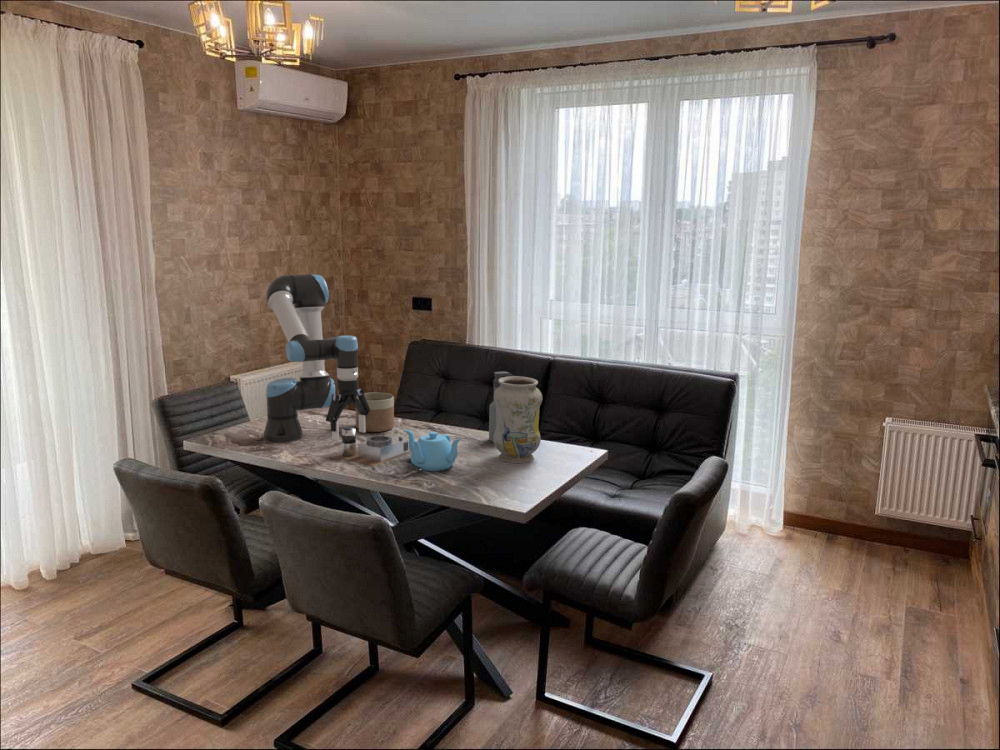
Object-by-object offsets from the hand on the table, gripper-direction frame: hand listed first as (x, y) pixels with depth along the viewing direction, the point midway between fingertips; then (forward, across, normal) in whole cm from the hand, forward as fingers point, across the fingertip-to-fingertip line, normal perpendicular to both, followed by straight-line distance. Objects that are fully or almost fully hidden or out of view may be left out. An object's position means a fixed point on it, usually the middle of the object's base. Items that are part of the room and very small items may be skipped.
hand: (349, 436), depth 275 cm
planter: (+8, +37, +22) cm, 44 cm away
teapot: (+9, +11, -29) cm, 32 cm away
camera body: (+7, +8, -9) cm, 14 cm away
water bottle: (+9, +54, -31) cm, 63 cm away
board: (+9, +6, -6) cm, 12 cm away
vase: (+9, +37, -49) cm, 62 cm away
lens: (+7, 0, 0) cm, 7 cm away
